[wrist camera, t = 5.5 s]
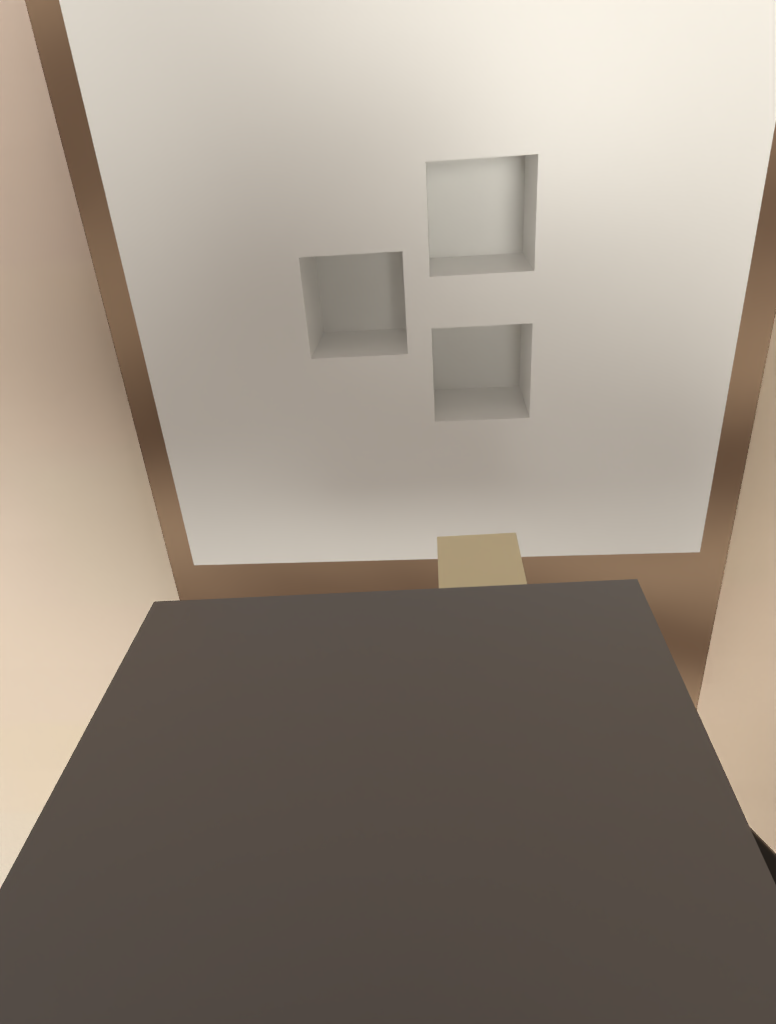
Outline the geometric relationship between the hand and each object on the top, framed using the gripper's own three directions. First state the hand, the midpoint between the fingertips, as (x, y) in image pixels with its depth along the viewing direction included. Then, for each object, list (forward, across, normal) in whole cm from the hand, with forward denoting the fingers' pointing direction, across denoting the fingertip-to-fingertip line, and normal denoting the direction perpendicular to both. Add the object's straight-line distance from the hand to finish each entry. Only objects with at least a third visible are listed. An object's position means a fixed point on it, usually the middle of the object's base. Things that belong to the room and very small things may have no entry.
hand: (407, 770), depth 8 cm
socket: (+11, -1, -3) cm, 12 cm away
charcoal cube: (+2, 0, 0) cm, 2 cm away
